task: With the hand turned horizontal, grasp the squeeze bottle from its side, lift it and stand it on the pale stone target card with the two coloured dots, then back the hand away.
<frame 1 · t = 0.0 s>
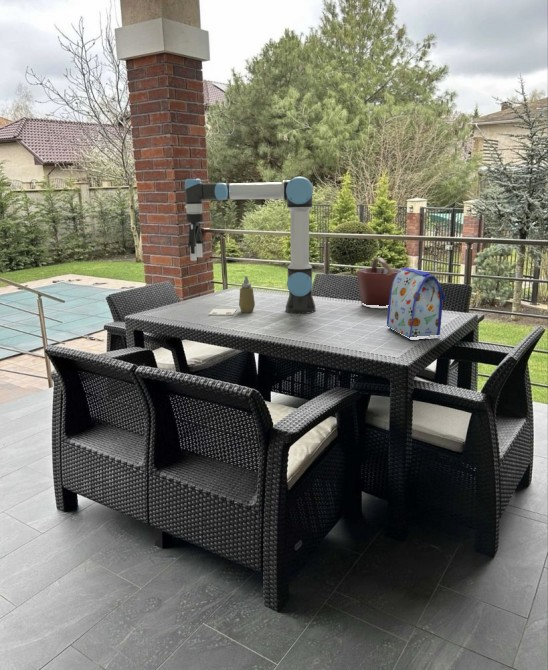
hand: (196, 258, 254), 28 cm above the table, tool pointing down, fingers open, 13 cm apart
target card: (222, 312, 268), on the table
lunch bag: (413, 334, 223), on the table
bucket: (377, 306, 279), on the table
squeeze bottle: (247, 312, 270), on the table
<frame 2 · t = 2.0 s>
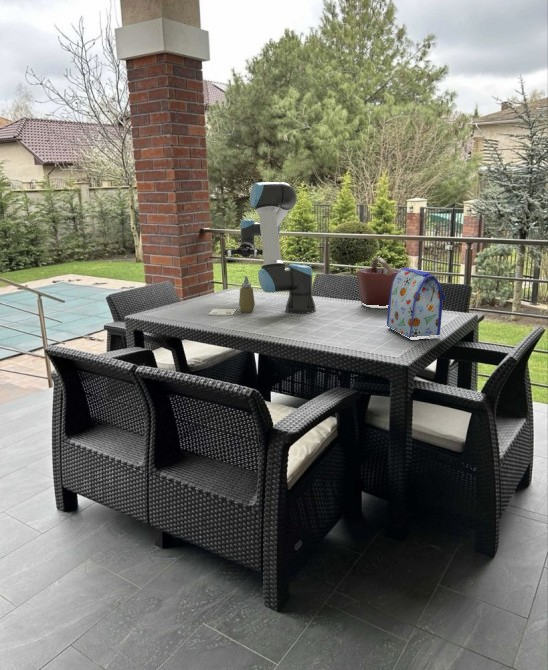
hand: (241, 254, 272), 28 cm above the table, tool horizontal, fingers open, 13 cm apart
nothing on the table moved.
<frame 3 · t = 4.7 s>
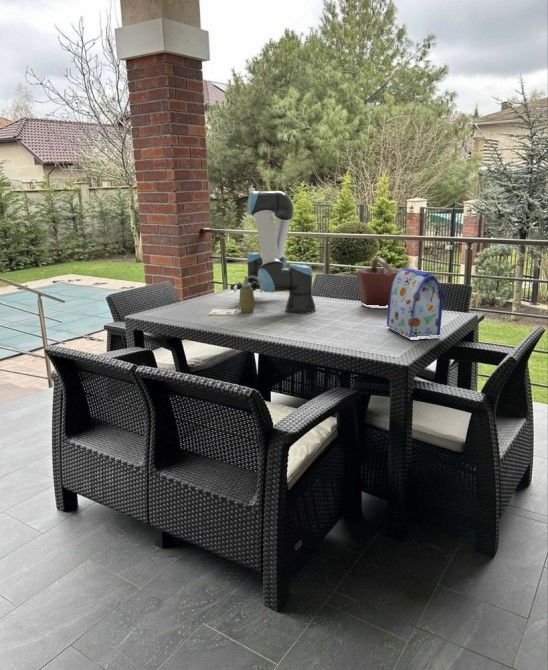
hand: (247, 289, 274), 10 cm above the table, tool horizontal, fingers open, 13 cm apart
nothing on the table moved.
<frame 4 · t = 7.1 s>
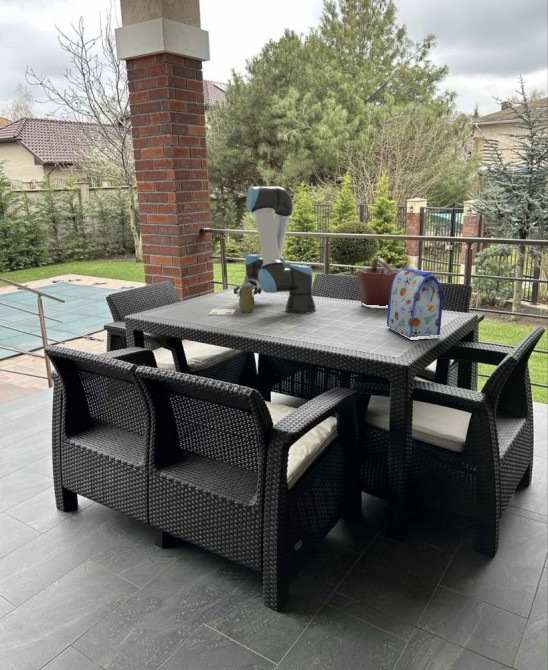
hand: (245, 294, 262), 10 cm above the table, tool horizontal, fingers closed on squeeze bottle, 6 cm apart
squeeze bottle: (247, 312, 270), on the table, touching gripper
everything else where it was.
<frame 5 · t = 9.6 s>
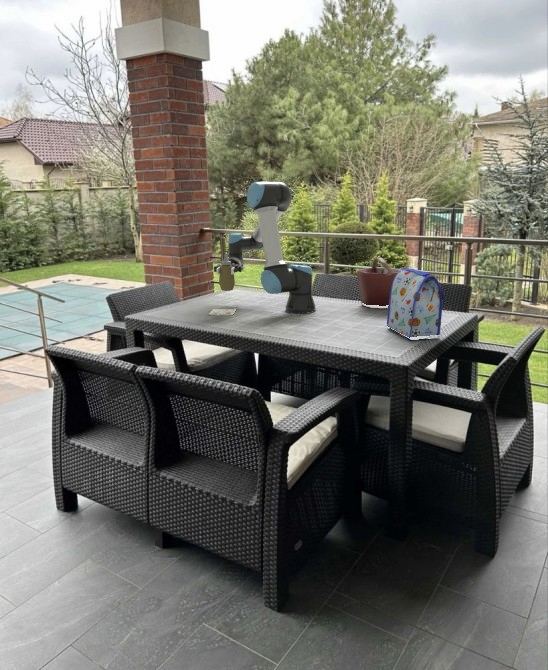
hand: (224, 271, 259), 21 cm above the table, tool horizontal, fingers closed on squeeze bottle, 6 cm apart
squeeze bottle: (227, 290, 267), point 11 cm above the table, touching gripper
everything else where it was.
when the fingers open (12 cm above the table, at t = 12.0 s): squeeze bottle stays where it is, resting on target card.
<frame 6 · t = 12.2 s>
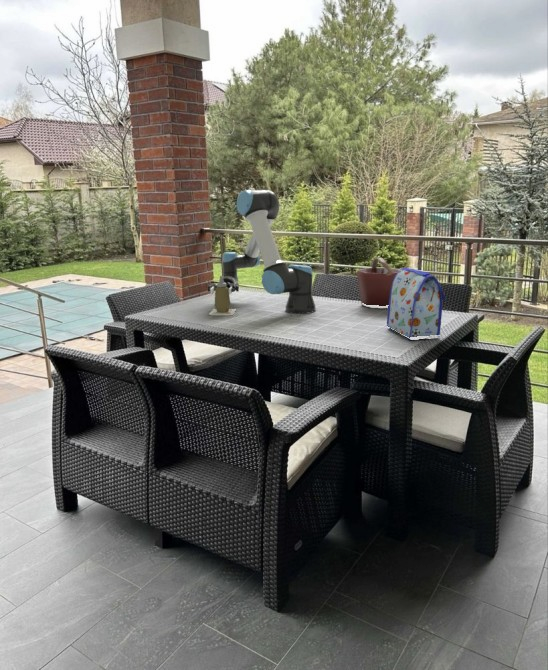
hand: (220, 291, 261), 12 cm above the table, tool horizontal, fingers open, 8 cm apart
squeeze bottle: (222, 311, 268), resting on target card
everything else where it was.
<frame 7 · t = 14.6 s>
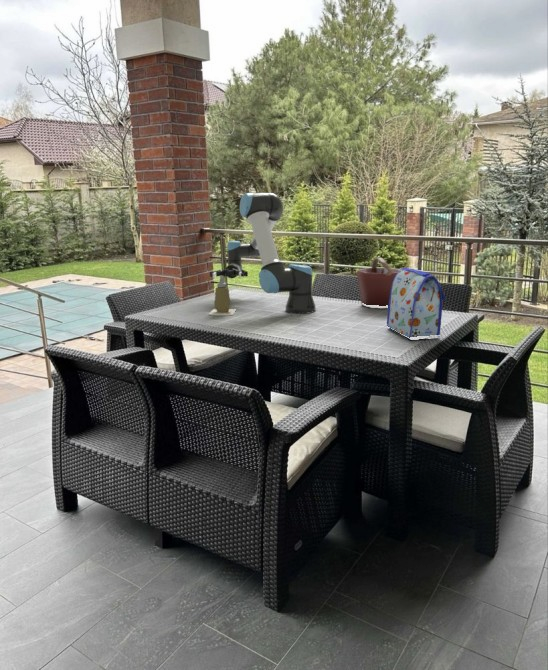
hand: (226, 276, 275), 17 cm above the table, tool horizontal, fingers open, 13 cm apart
nothing on the table moved.
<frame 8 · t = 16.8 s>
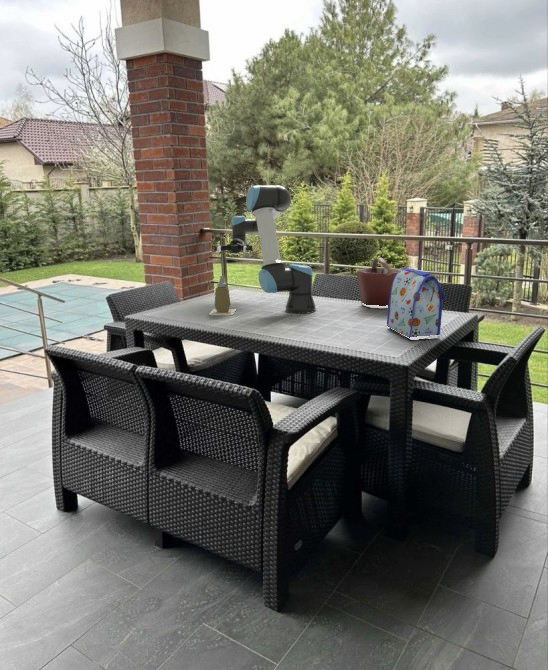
hand: (230, 249, 274), 30 cm above the table, tool horizontal, fingers open, 13 cm apart
nothing on the table moved.
at the end: squeeze bottle inside the target area on the target card (0.1 cm from its centre), point 0.4 cm above the target card's base; squeeze bottle tilted 0°; the gripper is holding nothing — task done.
